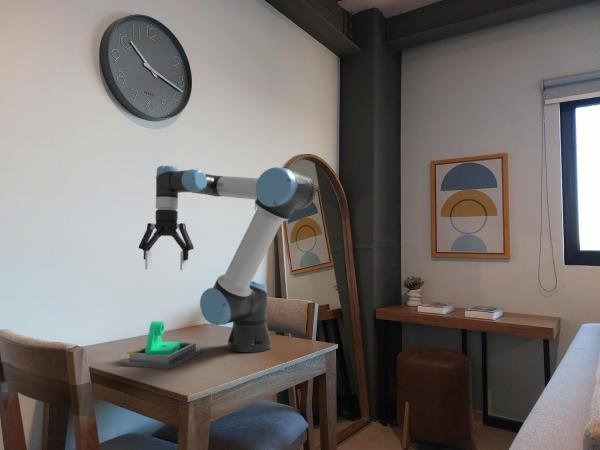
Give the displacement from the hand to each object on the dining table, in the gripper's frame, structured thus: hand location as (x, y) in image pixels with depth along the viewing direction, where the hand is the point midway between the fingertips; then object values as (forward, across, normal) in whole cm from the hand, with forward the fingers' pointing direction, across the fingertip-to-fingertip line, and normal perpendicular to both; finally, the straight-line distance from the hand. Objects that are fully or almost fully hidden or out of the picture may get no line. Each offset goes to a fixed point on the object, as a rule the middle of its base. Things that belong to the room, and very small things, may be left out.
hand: (165, 269), depth 152 cm
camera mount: (+26, -8, +15) cm, 31 cm away
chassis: (+27, -9, +15) cm, 32 cm away
